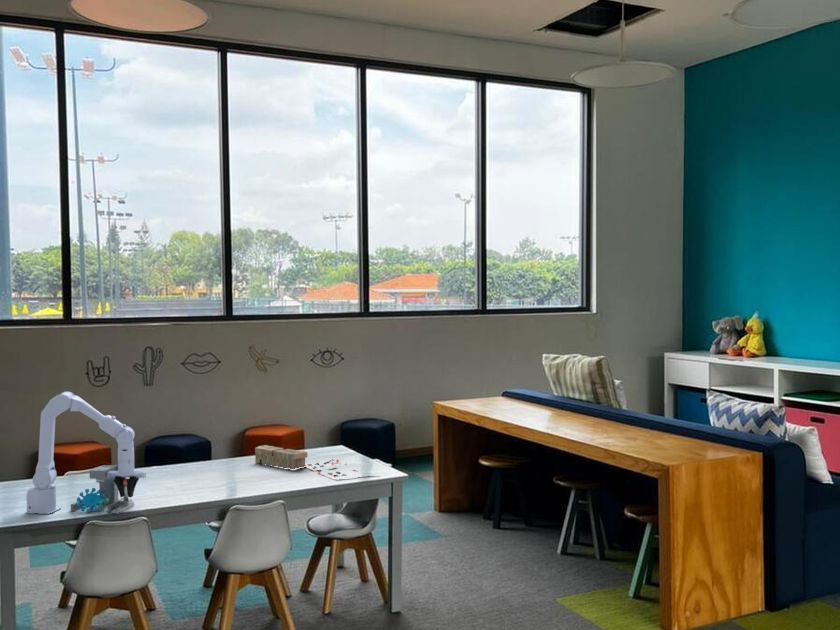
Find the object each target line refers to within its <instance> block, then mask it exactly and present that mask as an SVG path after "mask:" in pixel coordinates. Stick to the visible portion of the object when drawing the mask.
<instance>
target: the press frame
mask: <svg viewBox="0 0 840 630" xmlns="http://www.w3.org/2000/svg"><path fill="white" fill-rule="evenodd" d="M109 471H118V464H103V465H99V466H97V467H95V468H92V469H90V470H89V479H91V480H92V479H94V480H95V483H99V489H98V490H101V491H102V493H101V494H105V498H102V497H99V498H101V499H107V498H108V499H109V502H108V503H111V504H107V513H111V514H112V513H116V514H115V515H117V514H118V515H119V514H120V513H122V512H123V511H125V509H126V510H127V508H128V509H129V508H131V507H133V506H134V505H135V502H133V501H132V502H133V503H132V504H130V505H121V501H122V500H124V496H123V497H120V498H119V490H118V488H117V486H116V484H115V482H114V479H115V477H107V472H109ZM101 494H99V495H101ZM80 499H81V498H80ZM82 499H83V498H82ZM82 499H81V500H82ZM77 503H81V504H82V503H83V502H81V501H77V500H76V501H75V502H73V503H71V504H70V511H71V512H76V511H78V510H80V509H81V507H85V506H80V507H78V506H77ZM79 508H80V509H79ZM77 509H78V510H77ZM75 510H76V511H75ZM121 511H122V512H121ZM119 512H120V513H119Z"/></svg>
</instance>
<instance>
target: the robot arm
mask: <svg viewBox="0 0 840 630" xmlns="http://www.w3.org/2000/svg"><path fill="white" fill-rule="evenodd" d="M69 409H70V410H69ZM68 410H69V411H70V412H80V413H82V414H83V415H85V416H86V417H89V419H92V420H93V421H95V422H96V423H98V427H99V429H101V430H102V431H104V433H107V435H110V436H111V437H112V438H113V439H114V438H115V440H116V442H117V446H118V447H117V465H118V471H109V472H107V477H115V479H114V482H115V484H116V486H117V488H118V494H119V496H120V498H123V497H124V486H123V484H122V481H123V480H124V479H126V478H127V483H128V496H129V497H130V498H132V497H134V492H135V490H136V489H135V488H136V486H137V484H138V482H139V479H140V478H141V479H145V478H147V472H146V471H140V470H139V471H137V470H135V447H134V445H135V443H134V438H135V435H136V434H135V430H134V429H133V428H132V427H131V426H127V424H125V423H122V422H121V421H119V420H118V419H116V418H117V417H116V416H115V415H109V414H107V415H104V414H103V413H101V412H100V411H99V410H97V409H96V408H94V406H92V405H91V404H90V403H88V402H86V401H85V400H84V399H83V398H81V397H80V396H79V395H75V394H74V393H73V392H71V391H62V392H60V394H57V395H55V396H53V398H51V399H49V402H48V403H47V404H46V406H45V407H44V408H43V409H42V411H40V419H39V420H40V425H39V426H40V427H39V442H38V443H39V445H38V461H37V464H36V467H35V474H34V475H33V477H32V484H33V486H31V487H29V488H28V490H27V492H26V511H25V514H34V513H38V514H39V515H50V513H51V514H52V512H53V513H55V512H57V511H59V510H61V509H62V507H61V506H57V490H56V489H57V484H56V483H55V480H56V479H57V478H58V477H57V476H58V473H57V470H56V467H55V465H56V464H55V460H54V453H55V437H56V435H55V434H56V419H57V418H56V417H58V416H59V415H60V414H62V413H64V412H65V411H66V412H67V411H68Z"/></svg>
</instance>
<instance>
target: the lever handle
mask: <svg viewBox="0 0 840 630" xmlns="http://www.w3.org/2000/svg"><path fill="white" fill-rule="evenodd" d="M127 479H128V477H126V479H124V480H123V481H122V484H123V486H124V496H123V497H124V500H122V501H121V505H130V504H132V503H133V498H132V499H130V498H131V497H129V496H128V483H127Z"/></svg>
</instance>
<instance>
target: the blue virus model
mask: <svg viewBox="0 0 840 630" xmlns="http://www.w3.org/2000/svg"><path fill="white" fill-rule="evenodd" d="M84 490H85V491H84V492H83V491H82V492H80V493H79V496H77V497H76V502H77V501H81V502H83V503H82V504H81V503H77V506H78V507H80V506H84V507H81V508H80V510H81V511H82V512H84V511H85V510H86V513H91V511H92V509H93V512H95V513H97V512H98V511H99V510H98V507H99V509H102V508H104V509H106V505H108V504H107V503H108V502H109V499H108V498H107V499H101V498H100V497H102V498H105V494H101V493H102V491H101V490H99V489H98V490H97V489H96V488H95V487H92V488H91V491H90V489H89V488H85V489H84ZM96 490H97V491H96ZM89 492H90V493H89ZM84 493H85V495H84ZM100 494H101V495H100ZM81 497H82V500H81ZM97 506H98V507H97Z"/></svg>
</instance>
